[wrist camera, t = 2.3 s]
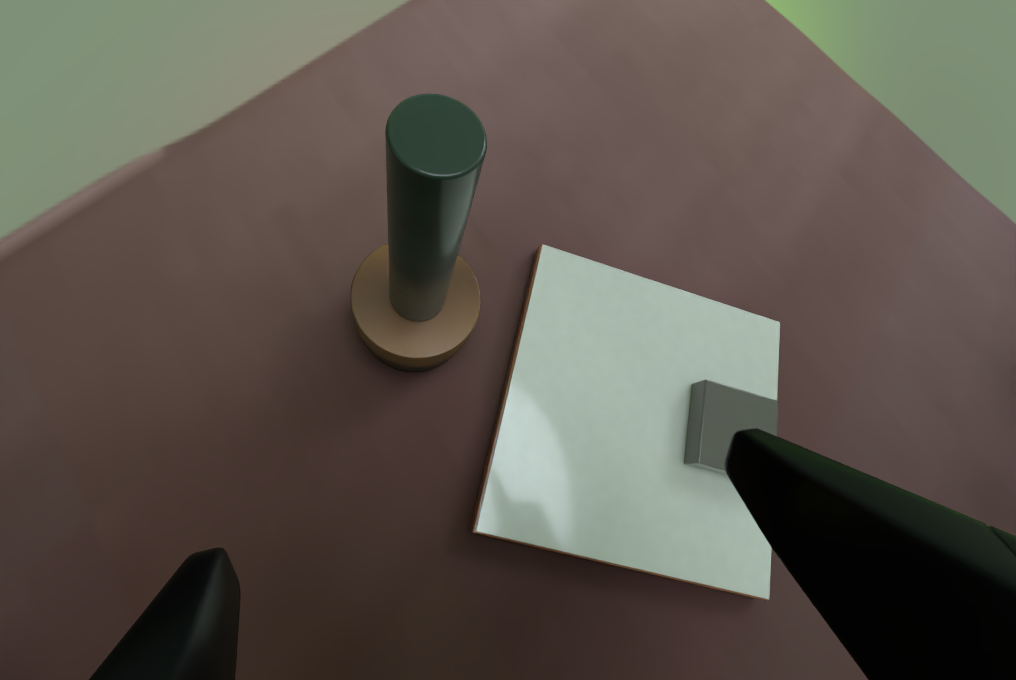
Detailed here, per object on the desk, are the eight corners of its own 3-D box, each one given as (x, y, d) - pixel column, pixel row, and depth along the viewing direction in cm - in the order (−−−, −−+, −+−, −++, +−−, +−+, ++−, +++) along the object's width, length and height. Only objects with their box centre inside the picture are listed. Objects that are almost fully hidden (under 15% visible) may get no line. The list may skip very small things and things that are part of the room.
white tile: (469, 531, 20) (473, 533, 19) (535, 250, 25) (541, 241, 24) (755, 597, 22) (771, 602, 21) (768, 326, 27) (781, 321, 26)
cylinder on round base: (478, 367, 23) (575, 232, 10) (364, 384, 21) (324, 252, 9) (458, 266, 24) (526, 41, 12) (350, 277, 22) (297, 33, 10)
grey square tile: (682, 464, 22) (698, 463, 21) (691, 383, 24) (705, 378, 23) (757, 484, 23) (776, 484, 22) (761, 404, 24) (779, 400, 23)
